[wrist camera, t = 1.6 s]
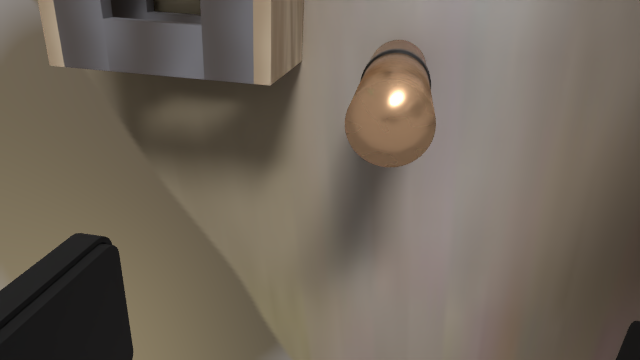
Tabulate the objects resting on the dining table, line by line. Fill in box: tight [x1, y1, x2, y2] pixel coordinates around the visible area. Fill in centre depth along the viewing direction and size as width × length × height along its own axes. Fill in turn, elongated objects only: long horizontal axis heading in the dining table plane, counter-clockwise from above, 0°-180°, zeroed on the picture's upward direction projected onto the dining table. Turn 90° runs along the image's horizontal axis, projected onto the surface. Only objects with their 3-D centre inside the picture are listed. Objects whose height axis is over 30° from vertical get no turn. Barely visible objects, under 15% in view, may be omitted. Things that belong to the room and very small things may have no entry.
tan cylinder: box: [345, 40, 436, 167], centre depth 27 cm, size 4×4×14 cm
